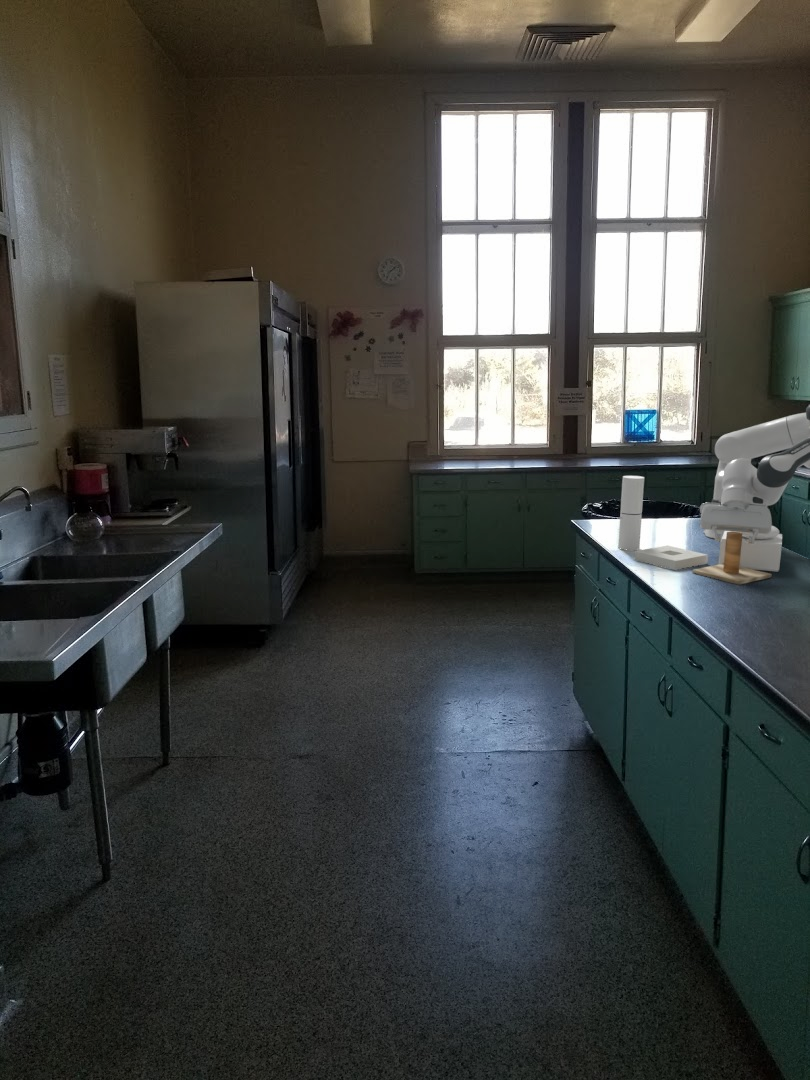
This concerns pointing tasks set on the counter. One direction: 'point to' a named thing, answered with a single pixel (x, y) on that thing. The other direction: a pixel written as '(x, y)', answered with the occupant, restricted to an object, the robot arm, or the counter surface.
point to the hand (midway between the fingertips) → (734, 541)
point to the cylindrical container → (631, 512)
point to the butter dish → (757, 550)
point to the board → (739, 578)
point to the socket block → (671, 557)
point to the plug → (732, 552)
